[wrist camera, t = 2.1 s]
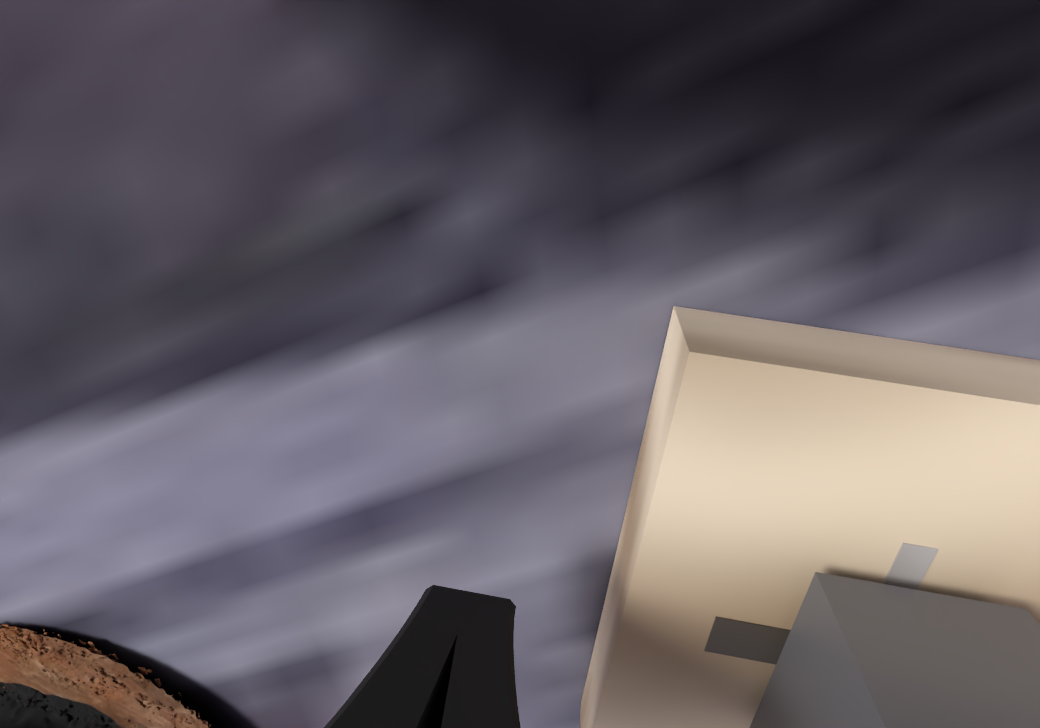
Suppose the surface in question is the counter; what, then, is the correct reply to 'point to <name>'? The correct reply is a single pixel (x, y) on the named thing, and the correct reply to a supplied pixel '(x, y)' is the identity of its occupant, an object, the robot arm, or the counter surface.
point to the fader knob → (903, 661)
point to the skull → (78, 688)
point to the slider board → (804, 503)
